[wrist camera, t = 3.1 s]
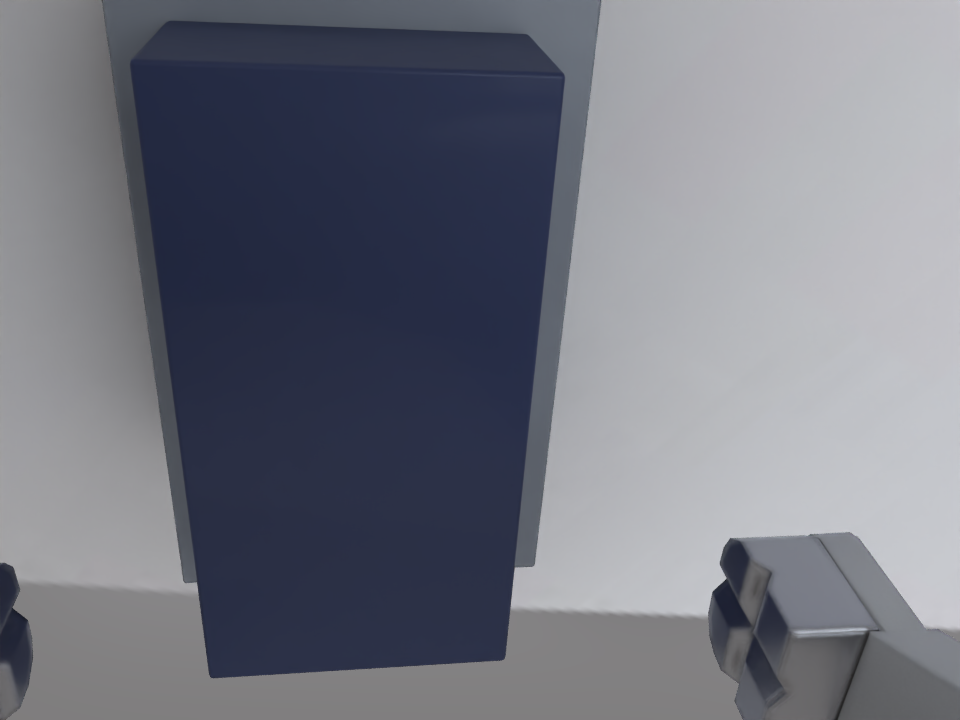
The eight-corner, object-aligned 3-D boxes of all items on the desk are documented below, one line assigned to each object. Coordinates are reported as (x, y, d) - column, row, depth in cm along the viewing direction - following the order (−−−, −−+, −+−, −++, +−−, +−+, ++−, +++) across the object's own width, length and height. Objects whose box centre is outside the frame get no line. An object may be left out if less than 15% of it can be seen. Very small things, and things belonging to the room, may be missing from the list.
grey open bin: (497, 436, 23) (533, 578, 18) (207, 444, 22) (174, 596, 17) (537, -49, 17) (602, -9, 13) (150, -69, 16) (80, -32, 12)
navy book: (486, 562, 18) (505, 661, 16) (226, 574, 17) (209, 680, 15) (529, 33, 13) (566, 73, 11) (165, 19, 12) (127, 59, 10)
